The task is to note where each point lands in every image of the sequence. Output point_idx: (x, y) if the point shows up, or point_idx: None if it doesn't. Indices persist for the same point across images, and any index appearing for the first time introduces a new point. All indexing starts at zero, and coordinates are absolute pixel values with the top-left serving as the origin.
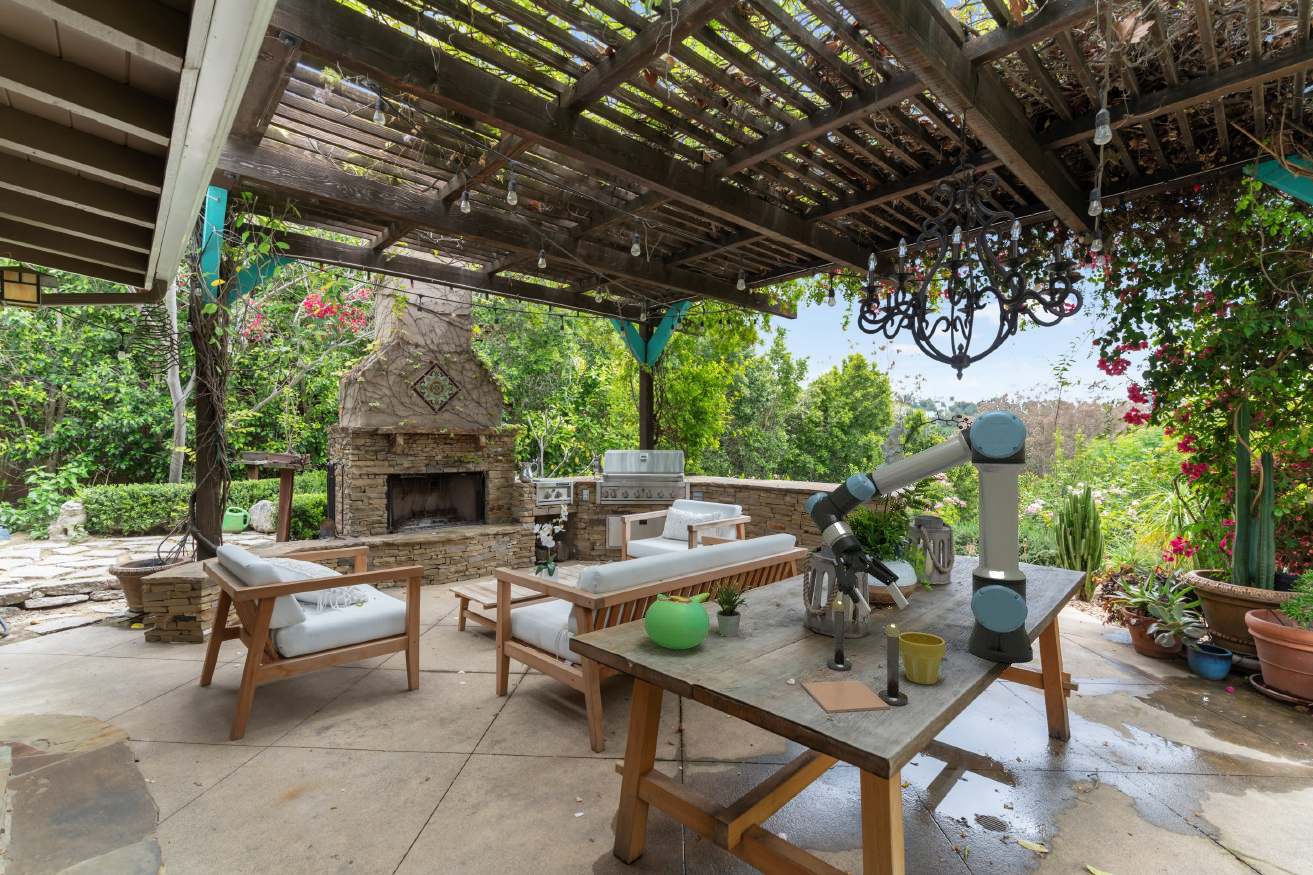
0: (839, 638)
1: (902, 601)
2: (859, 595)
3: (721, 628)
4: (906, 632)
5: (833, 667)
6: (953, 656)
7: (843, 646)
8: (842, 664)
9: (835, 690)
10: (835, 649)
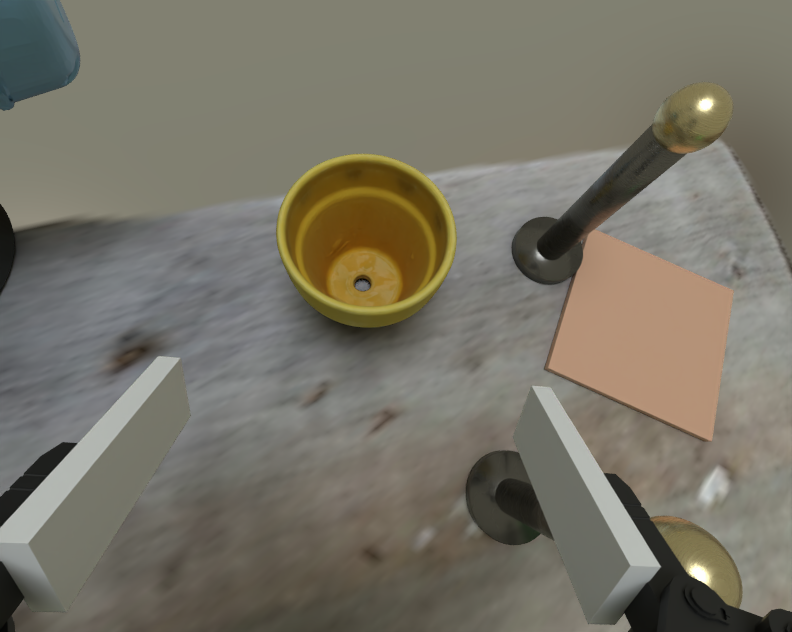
0: None
1: (166, 396)
2: (610, 488)
3: None
4: (345, 307)
5: None
6: (71, 338)
7: None
8: (513, 477)
9: (651, 354)
10: None
